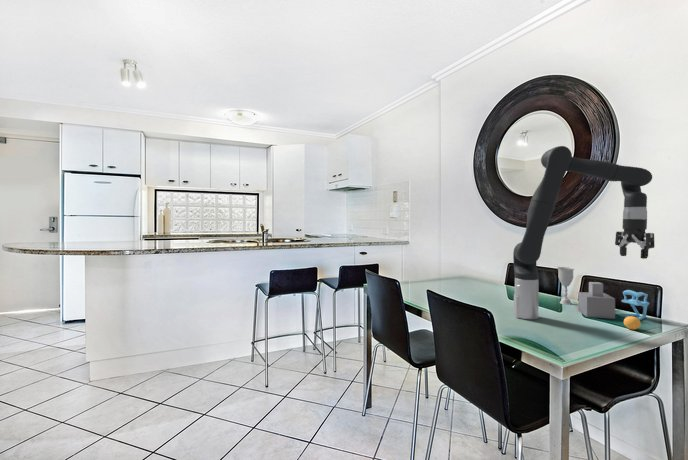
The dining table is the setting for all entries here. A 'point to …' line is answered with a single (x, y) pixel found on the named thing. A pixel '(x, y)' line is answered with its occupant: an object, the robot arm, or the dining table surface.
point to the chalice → (565, 281)
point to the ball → (632, 322)
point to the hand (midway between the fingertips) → (633, 257)
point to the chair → (635, 303)
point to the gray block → (596, 302)
